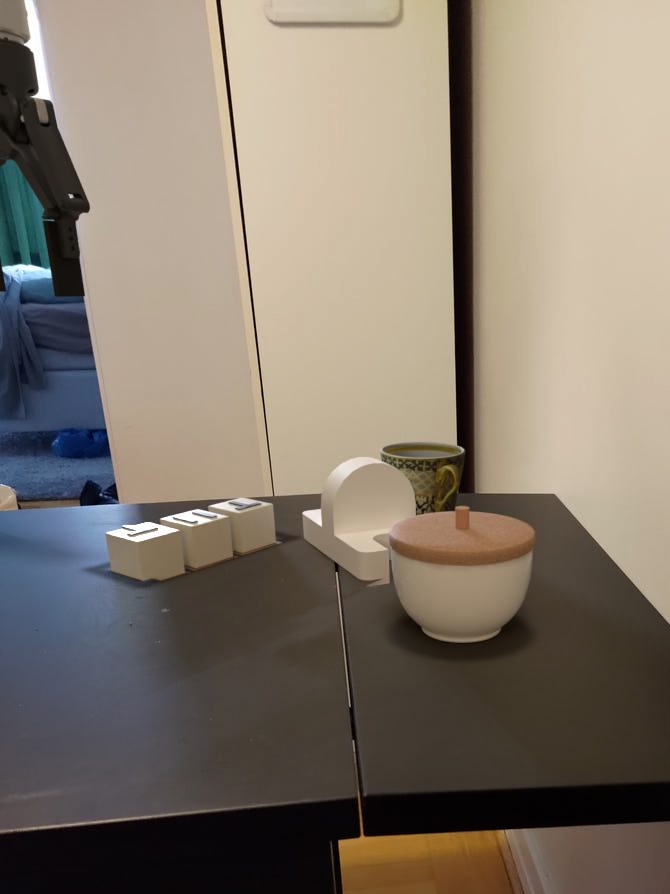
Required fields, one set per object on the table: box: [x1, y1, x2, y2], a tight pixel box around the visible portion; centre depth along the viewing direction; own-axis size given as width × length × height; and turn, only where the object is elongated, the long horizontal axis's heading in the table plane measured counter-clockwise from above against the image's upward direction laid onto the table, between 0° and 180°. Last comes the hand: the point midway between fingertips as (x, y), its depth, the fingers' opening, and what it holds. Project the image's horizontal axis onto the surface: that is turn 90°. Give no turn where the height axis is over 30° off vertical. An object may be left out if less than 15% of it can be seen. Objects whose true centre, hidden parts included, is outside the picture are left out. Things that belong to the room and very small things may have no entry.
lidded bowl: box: [389, 505, 536, 644], centre depth 77 cm, size 13×13×11 cm
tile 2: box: [207, 497, 277, 553], centre depth 98 cm, size 5×5×5 cm
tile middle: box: [159, 508, 234, 568], centre depth 93 cm, size 5×5×5 cm
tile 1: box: [105, 521, 186, 582], centre depth 88 cm, size 5×5×5 cm
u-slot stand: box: [301, 456, 416, 587], centre depth 96 cm, size 10×18×11 cm, turn 30°
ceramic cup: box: [379, 441, 466, 516], centre depth 104 cm, size 13×10×10 cm
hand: (29, 294), depth 88 cm, fingers open, 13 cm apart
